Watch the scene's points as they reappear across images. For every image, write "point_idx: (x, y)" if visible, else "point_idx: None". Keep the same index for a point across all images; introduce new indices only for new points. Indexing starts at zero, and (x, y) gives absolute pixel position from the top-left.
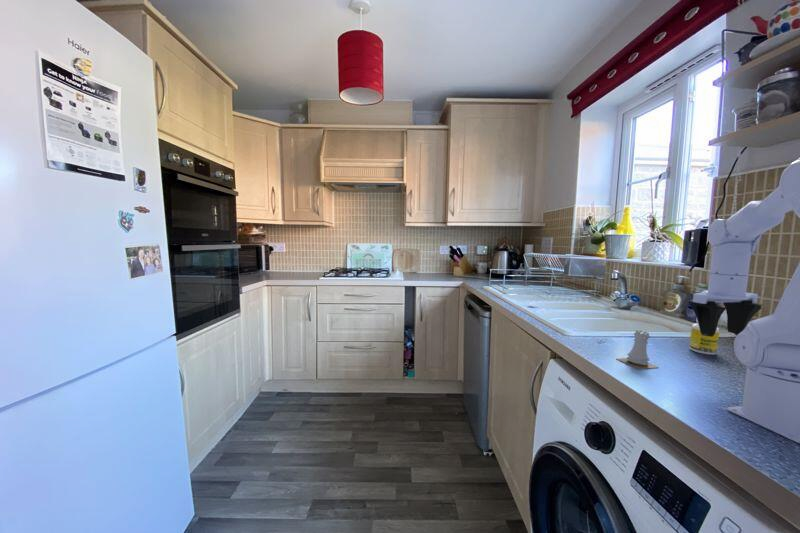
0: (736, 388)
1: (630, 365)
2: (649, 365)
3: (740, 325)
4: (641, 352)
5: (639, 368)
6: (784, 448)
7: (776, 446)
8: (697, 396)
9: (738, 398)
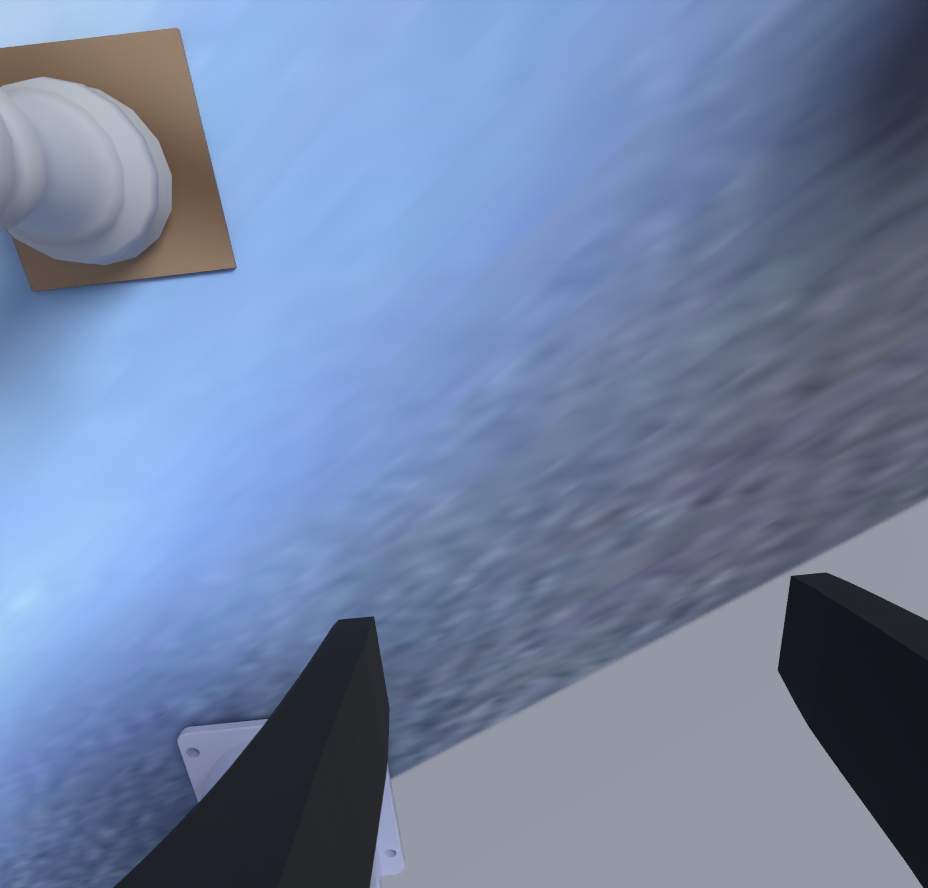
0: (482, 553)
1: None
2: (179, 229)
3: (863, 765)
4: (16, 229)
5: (46, 285)
6: None
7: None
8: (159, 623)
9: None
